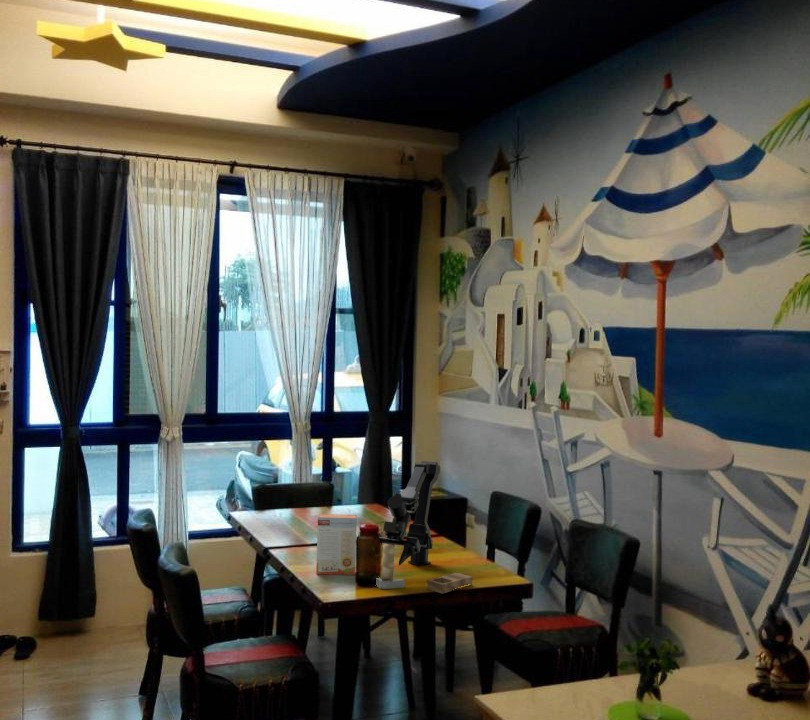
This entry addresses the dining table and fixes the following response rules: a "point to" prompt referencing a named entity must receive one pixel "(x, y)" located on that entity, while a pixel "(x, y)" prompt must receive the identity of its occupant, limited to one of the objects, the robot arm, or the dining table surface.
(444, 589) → the wooden socket block
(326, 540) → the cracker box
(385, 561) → the dowel
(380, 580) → the v cradle
